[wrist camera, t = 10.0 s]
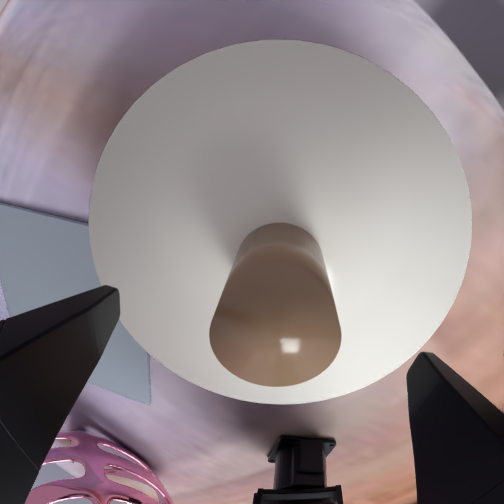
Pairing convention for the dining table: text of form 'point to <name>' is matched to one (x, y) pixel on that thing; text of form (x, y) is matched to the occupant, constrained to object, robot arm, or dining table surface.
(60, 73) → the dining table surface
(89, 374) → the robot arm
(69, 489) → the spiral basket
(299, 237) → the ceramic lid
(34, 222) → the rubber mat
